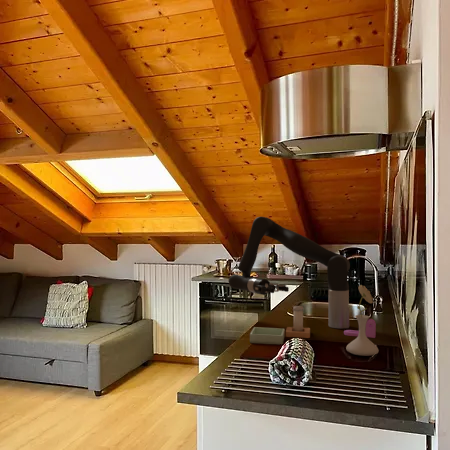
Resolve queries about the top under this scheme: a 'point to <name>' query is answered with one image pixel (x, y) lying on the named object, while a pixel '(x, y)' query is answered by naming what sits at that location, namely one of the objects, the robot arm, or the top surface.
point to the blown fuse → (298, 318)
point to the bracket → (369, 331)
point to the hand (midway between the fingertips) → (280, 290)
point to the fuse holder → (298, 333)
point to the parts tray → (267, 335)
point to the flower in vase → (362, 330)
